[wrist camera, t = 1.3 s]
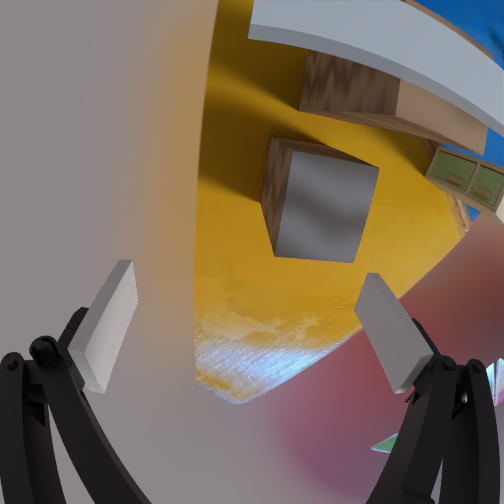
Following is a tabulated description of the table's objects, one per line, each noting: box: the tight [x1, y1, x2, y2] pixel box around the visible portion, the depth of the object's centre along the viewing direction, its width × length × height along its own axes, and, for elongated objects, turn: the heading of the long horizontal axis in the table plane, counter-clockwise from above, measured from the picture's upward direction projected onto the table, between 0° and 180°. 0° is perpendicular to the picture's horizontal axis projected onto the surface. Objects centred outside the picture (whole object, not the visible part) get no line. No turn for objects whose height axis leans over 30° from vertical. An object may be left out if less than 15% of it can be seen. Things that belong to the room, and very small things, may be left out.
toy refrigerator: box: [425, 146, 504, 226], centre depth 37 cm, size 8×7×21 cm
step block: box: [260, 136, 379, 263], centre depth 38 cm, size 12×10×19 cm
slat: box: [248, 0, 504, 137], centre depth 11 cm, size 4×26×3 cm, turn 83°
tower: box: [298, 0, 493, 156], centre depth 26 cm, size 10×10×30 cm
